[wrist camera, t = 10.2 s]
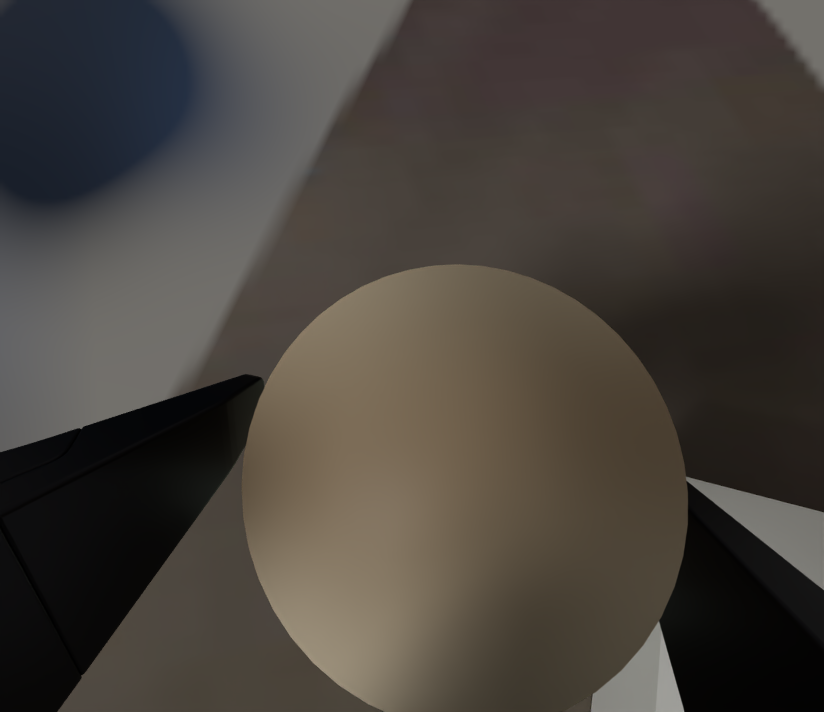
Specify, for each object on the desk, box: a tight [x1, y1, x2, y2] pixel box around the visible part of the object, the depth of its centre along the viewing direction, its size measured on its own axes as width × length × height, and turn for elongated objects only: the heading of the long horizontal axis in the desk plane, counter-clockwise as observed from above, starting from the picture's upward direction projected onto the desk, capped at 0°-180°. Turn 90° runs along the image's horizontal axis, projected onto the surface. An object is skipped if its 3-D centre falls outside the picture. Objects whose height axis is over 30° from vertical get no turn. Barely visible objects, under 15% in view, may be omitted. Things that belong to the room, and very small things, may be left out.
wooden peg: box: [242, 264, 688, 712], centre depth 11 cm, size 5×5×13 cm
